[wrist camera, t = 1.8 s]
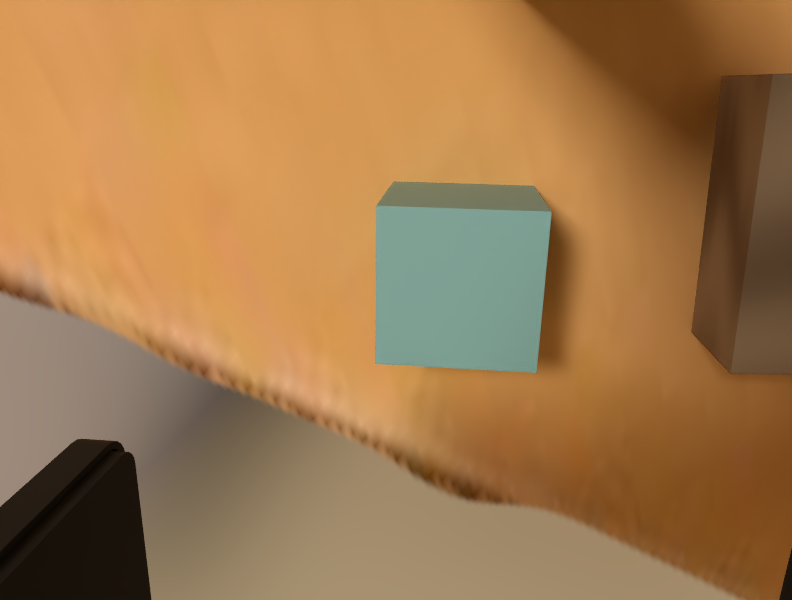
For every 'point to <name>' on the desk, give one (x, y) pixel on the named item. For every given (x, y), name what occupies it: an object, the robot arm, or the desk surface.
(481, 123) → the desk surface
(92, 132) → the desk surface
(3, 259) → the desk surface
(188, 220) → the desk surface
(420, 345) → the teal cube
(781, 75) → the walnut block
